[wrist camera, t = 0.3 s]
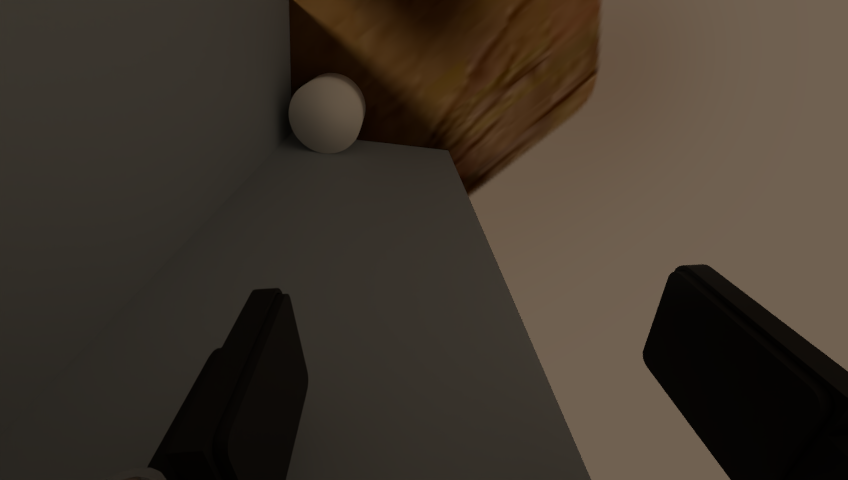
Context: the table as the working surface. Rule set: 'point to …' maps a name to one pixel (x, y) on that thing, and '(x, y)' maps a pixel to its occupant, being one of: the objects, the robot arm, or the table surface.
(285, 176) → the counter
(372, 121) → the table surface
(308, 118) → the cream rounded knob
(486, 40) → the table surface
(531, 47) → the table surface
